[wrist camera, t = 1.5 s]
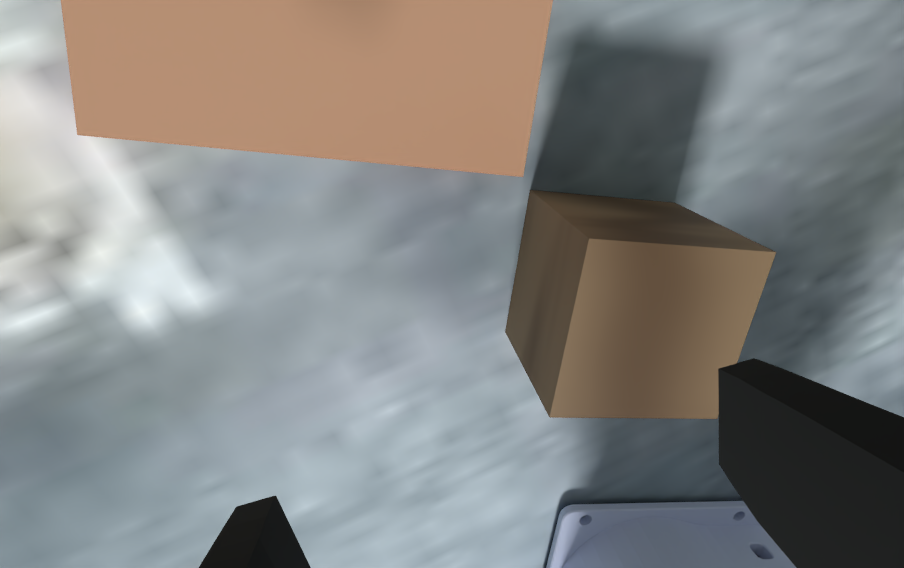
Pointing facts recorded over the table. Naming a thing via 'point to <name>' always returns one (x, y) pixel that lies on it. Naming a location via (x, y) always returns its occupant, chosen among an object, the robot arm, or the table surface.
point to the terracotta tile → (314, 77)
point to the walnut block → (630, 305)
